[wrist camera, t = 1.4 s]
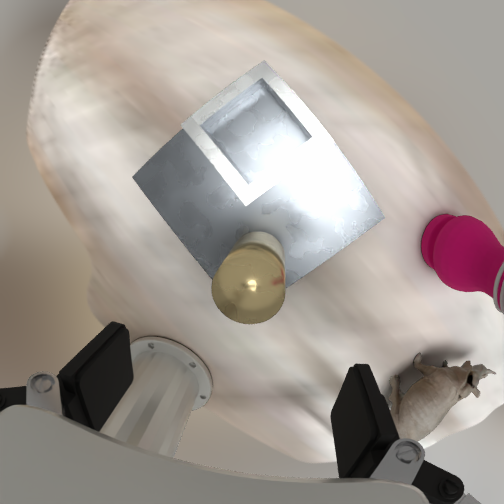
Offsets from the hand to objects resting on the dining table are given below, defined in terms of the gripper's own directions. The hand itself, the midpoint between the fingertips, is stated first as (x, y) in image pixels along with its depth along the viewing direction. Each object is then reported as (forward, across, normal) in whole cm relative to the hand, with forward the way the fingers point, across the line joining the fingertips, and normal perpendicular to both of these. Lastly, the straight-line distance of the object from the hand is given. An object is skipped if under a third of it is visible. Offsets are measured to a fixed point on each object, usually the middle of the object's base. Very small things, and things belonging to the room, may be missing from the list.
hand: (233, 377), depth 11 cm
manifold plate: (+18, +1, -6) cm, 19 cm away
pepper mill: (+18, -20, -5) cm, 27 cm away
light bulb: (+17, 0, 0) cm, 17 cm away
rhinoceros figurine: (+18, -24, +13) cm, 33 cm away
